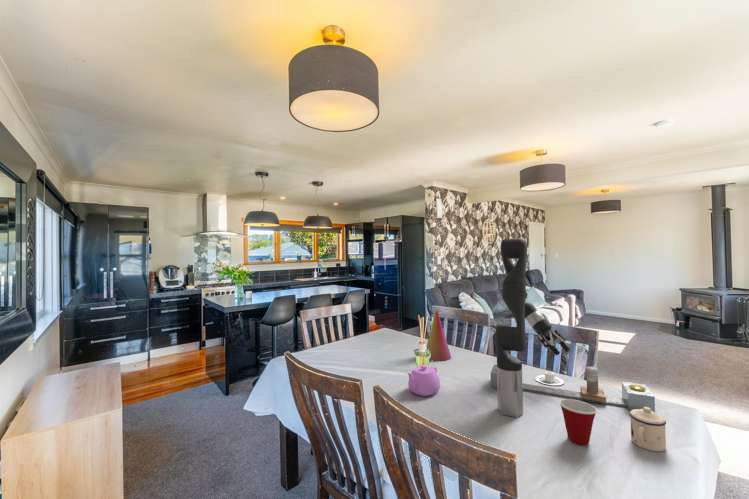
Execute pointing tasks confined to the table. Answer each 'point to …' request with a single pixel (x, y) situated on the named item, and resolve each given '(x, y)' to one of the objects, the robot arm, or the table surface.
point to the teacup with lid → (648, 429)
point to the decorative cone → (438, 341)
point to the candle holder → (549, 378)
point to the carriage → (592, 386)
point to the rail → (631, 398)
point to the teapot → (424, 380)
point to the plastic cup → (578, 420)
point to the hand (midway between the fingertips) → (563, 352)
